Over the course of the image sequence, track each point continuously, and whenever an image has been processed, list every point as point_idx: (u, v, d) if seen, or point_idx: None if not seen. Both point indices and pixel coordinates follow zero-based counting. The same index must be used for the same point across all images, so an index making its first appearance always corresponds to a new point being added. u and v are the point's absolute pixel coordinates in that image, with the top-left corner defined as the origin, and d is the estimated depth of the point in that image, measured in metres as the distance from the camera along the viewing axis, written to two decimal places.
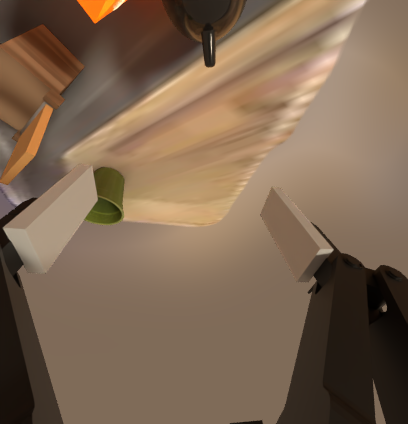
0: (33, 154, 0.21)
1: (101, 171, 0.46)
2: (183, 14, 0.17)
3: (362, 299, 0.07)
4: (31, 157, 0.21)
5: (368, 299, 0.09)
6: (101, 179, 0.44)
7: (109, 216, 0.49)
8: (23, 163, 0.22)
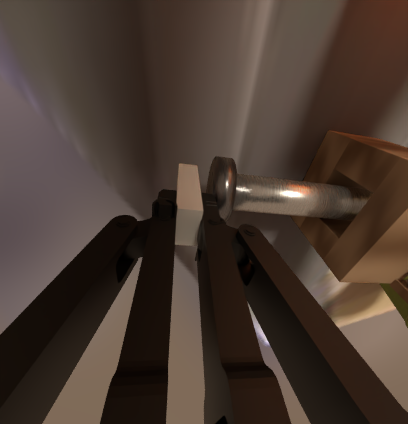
0: None
1: None
2: None
3: (229, 251, 0.08)
4: None
5: None
6: None
7: None
8: None
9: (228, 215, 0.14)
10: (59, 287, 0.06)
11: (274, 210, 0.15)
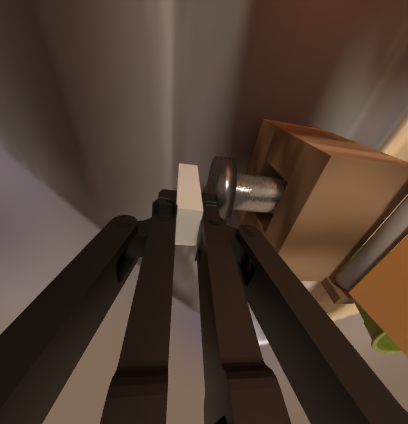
0: None
1: None
2: None
3: (229, 251, 0.08)
4: None
5: None
6: None
7: None
8: None
9: (228, 215, 0.14)
10: (59, 287, 0.06)
11: None
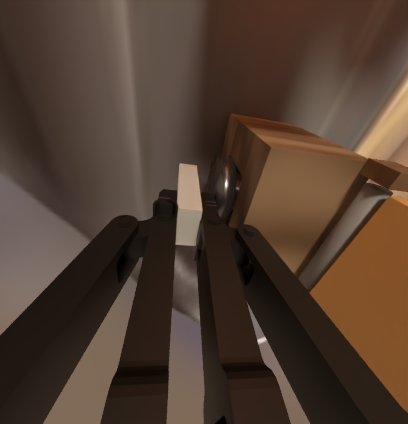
0: None
1: None
2: None
3: (229, 251, 0.08)
4: None
5: None
6: None
7: None
8: None
9: (227, 215, 0.14)
10: (60, 287, 0.06)
11: None
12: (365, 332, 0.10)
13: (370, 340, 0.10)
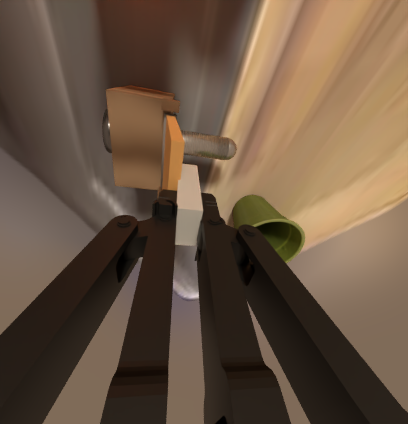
0: (181, 142, 0.12)
1: (240, 204, 0.37)
2: None
3: (229, 251, 0.08)
4: (181, 151, 0.12)
5: None
6: (247, 209, 0.33)
7: (281, 250, 0.35)
8: (176, 175, 0.13)
9: None
10: (59, 287, 0.06)
11: None
12: None
13: None
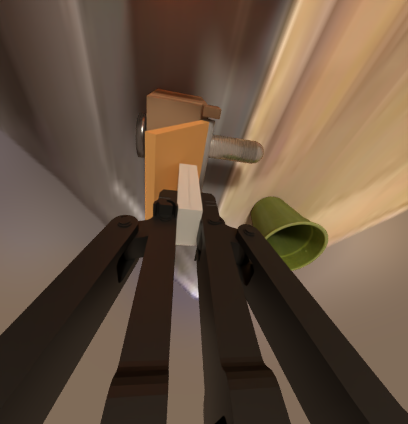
0: (154, 134, 0.12)
1: (259, 206, 0.37)
2: None
3: (229, 251, 0.08)
4: (153, 143, 0.12)
5: None
6: (269, 211, 0.33)
7: (301, 252, 0.35)
8: (151, 167, 0.13)
9: None
10: (60, 287, 0.06)
11: None
12: None
13: None
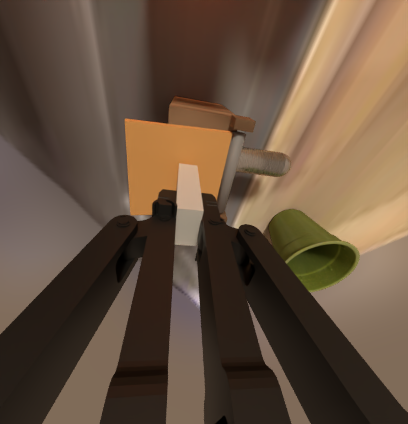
0: (126, 121, 0.13)
1: (279, 219, 0.34)
2: None
3: (229, 251, 0.08)
4: (125, 129, 0.13)
5: None
6: (291, 227, 0.31)
7: (326, 271, 0.32)
8: None
9: None
10: (59, 287, 0.06)
11: None
12: None
13: None
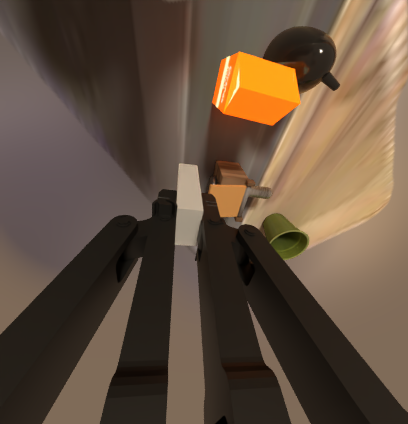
0: (211, 186, 0.39)
1: (268, 219, 0.60)
2: (311, 82, 0.29)
3: (229, 251, 0.08)
4: (210, 188, 0.39)
5: None
6: (275, 223, 0.56)
7: (295, 248, 0.58)
8: None
9: None
10: (59, 287, 0.06)
11: None
12: None
13: None
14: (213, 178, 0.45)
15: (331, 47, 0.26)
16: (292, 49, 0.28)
